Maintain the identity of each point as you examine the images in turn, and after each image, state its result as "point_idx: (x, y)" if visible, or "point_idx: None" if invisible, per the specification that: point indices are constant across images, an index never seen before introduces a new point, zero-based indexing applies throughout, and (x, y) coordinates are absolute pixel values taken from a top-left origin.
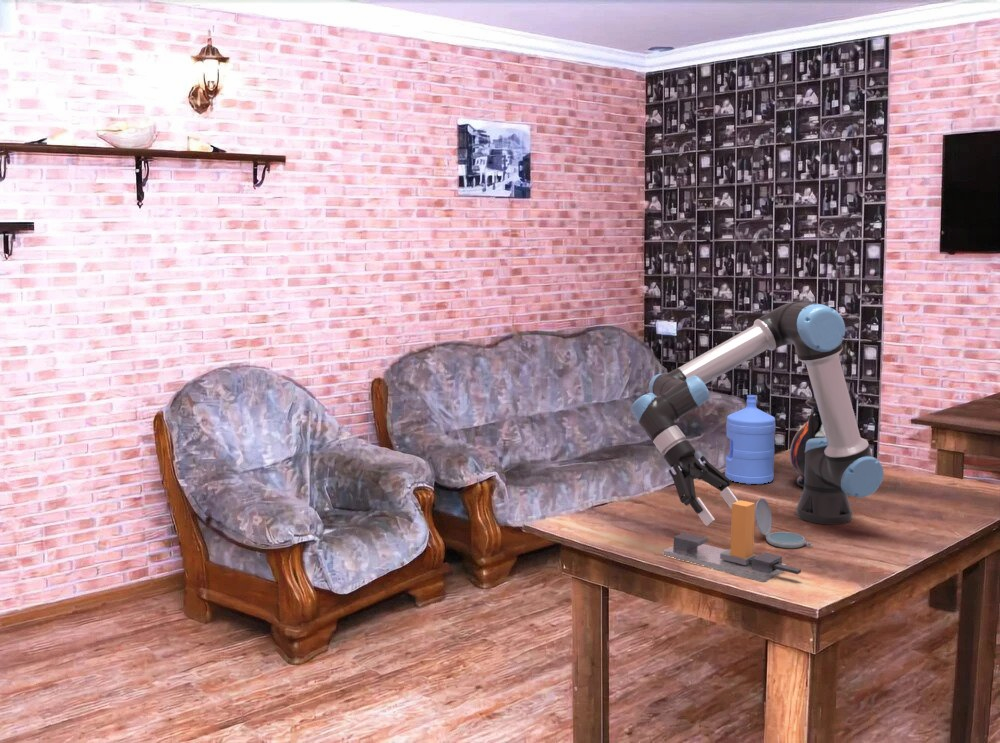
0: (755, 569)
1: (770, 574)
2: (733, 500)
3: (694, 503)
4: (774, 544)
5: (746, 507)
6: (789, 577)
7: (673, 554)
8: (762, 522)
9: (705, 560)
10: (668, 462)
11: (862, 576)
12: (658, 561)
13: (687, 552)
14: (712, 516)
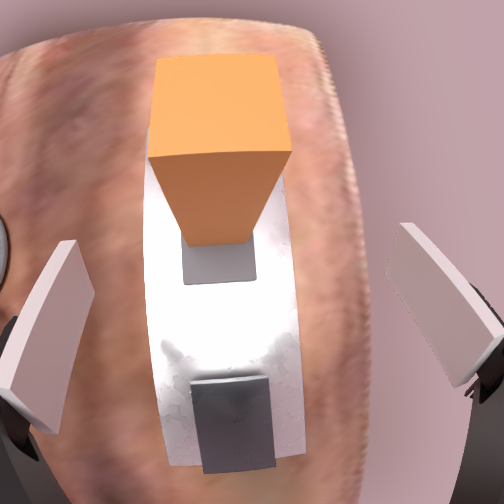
0: None
1: None
2: (57, 304)
3: (501, 324)
4: (6, 261)
5: (274, 60)
6: None
7: (303, 420)
8: None
9: (293, 311)
10: None
11: (97, 44)
12: (346, 422)
13: (270, 399)
14: (411, 234)
